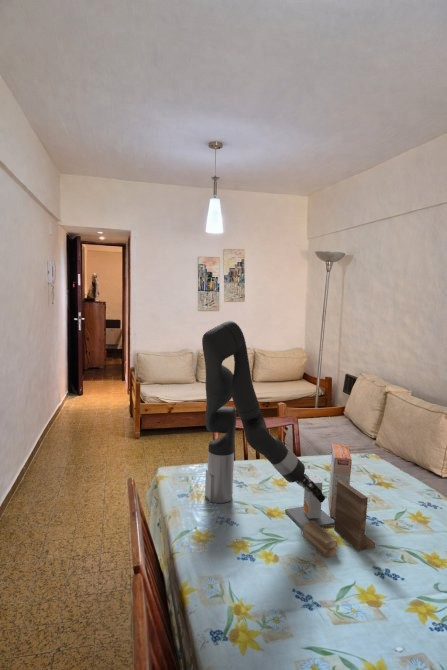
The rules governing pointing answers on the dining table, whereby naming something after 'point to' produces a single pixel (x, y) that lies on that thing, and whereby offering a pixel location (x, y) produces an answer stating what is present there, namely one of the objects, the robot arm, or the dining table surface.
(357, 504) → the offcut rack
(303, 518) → the slate pad
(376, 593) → the dining table surface
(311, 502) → the skincare box
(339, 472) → the cracker box
